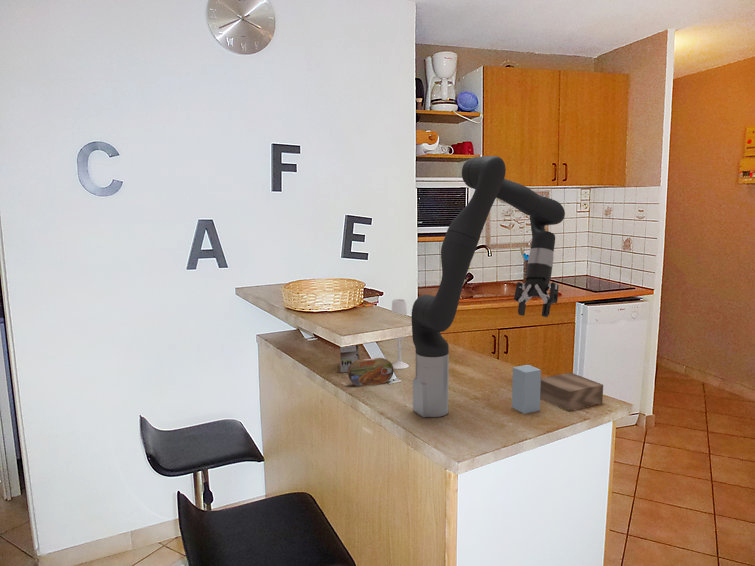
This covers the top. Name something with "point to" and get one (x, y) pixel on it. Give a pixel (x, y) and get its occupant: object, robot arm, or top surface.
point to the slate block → (526, 389)
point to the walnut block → (571, 391)
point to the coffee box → (348, 356)
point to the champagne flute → (400, 308)
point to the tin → (370, 371)
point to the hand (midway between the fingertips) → (532, 316)
